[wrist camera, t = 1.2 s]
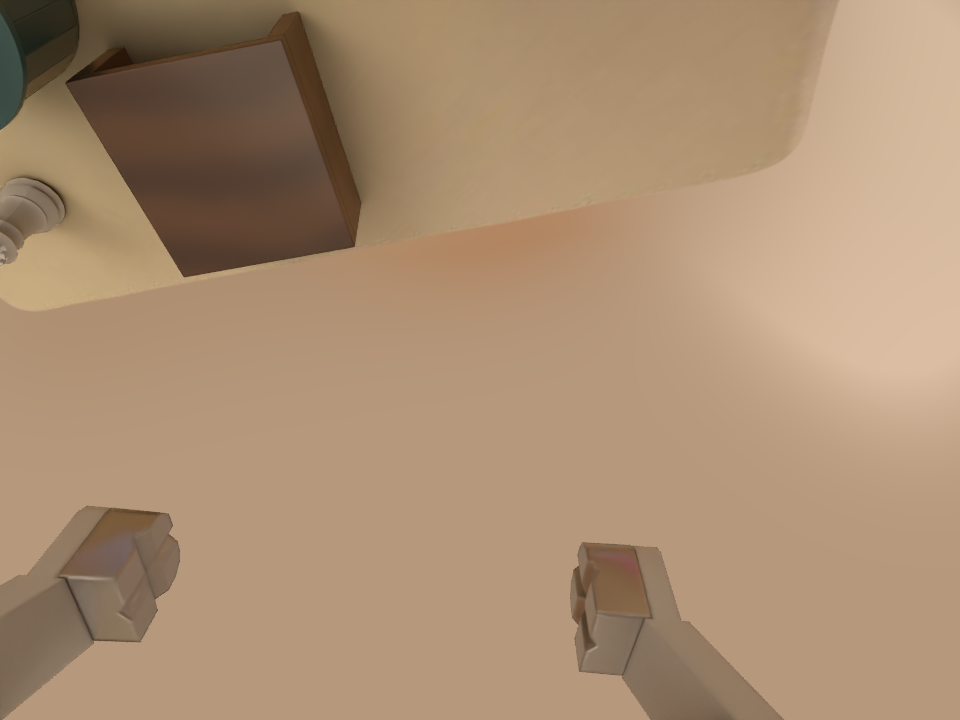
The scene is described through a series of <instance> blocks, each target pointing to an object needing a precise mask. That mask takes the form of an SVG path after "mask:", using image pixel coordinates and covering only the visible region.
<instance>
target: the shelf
mask: <svg viewBox="0 0 960 720" xmlns="http://www.w3.org/2000/svg"><path fill="white" fill-rule="evenodd" d="M65 84H66V85H67V87H68V89H69V90H70V92H71V94H72V95H73V97H74V98H75V100H76V102H77V103H78V105H79V107H80V108H81V110H82V112H83V113H84V115H85V116H86V118H87V120H88V121H89V123H90V125H91V126H92V128H93V129H94V131H95V133H96V134H97V136H98V138H99V139H100V141H101V143H102V144H103V146H104V147H105V149H106V151H107V152H108V154H109V156H110V157H111V159H112V161H113V162H114V164H115V165H116V167H117V169H118V170H119V172H120V174H121V175H122V177H123V179H124V180H125V182H126V183H127V185H128V187H129V188H130V190H131V192H132V193H133V195H134V197H135V198H136V200H137V201H138V203H139V205H140V206H141V208H142V210H143V211H144V213H145V215H146V216H147V218H148V219H149V221H150V223H151V224H152V226H153V228H154V229H155V231H156V232H157V234H158V236H159V237H160V239H161V241H162V242H163V244H164V246H165V247H166V249H167V250H168V252H169V254H170V255H171V257H172V259H173V260H174V262H175V264H176V265H177V267H178V268H179V270H180V272H181V273H182V275H183V277H189V276H195V275H200V274H206V273H211V272H217V271H223V270H228V269H234V268H239V267H245V266H251V265H256V264H262V263H267V262H273V261H279V260H284V259H290V258H295V257H301V256H306V255H312V254H318V253H323V252H329V251H334V250H340V249H346V248H351V247H355V241H356V235H357V228H358V222H359V215H360V208H361V201H360V198H359V195H358V192H357V189H356V186H355V183H354V180H353V177H352V174H351V171H350V168H349V165H348V162H347V159H346V156H345V152H344V149H343V146H342V143H341V140H340V137H339V134H338V131H337V128H336V125H335V122H334V119H333V116H332V113H331V110H330V106H329V103H328V100H327V97H326V94H325V91H324V88H323V85H322V82H321V79H320V76H319V73H318V70H317V67H316V64H315V61H314V57H313V54H312V51H311V48H310V45H309V42H308V39H307V36H306V33H305V30H304V27H303V24H302V21H301V18H300V15H299V12H294V13H289V14H284V15H282V16H281V18H280V19H279V21H278V22H277V24H276V25H275V27H274V28H273V29H272V31H271V32H270V34H269V35H268V37H267V38H263V39H258V40H253V41H248V42H243V43H238V44H233V45H228V46H223V47H218V48H213V49H208V50H203V51H198V52H193V53H188V54H183V55H178V56H173V57H168V58H163V59H158V60H153V61H148V62H143V63H138V64H132V62H131V60H130V58H129V56H128V54H127V52H126V50H125V49H124V47H120V48H115V49H110V50H107V51H106V52H105V53H104V54H102V55H101V56H100V57H98V58H97V59H96V60H94V61H93V62H92V63H90V64H89V65H88V66H86V67H85V68H84V69H82V70H81V71H80V72H78V73H77V74H76V75H74V76H73V77H72V78H71V79H69V80H68V81H67V82H65Z"/></svg>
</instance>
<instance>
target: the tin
mask: <svg viewBox="0 0 960 720" xmlns="http://www.w3.org/2000/svg"><path fill="white" fill-rule="evenodd" d="M0 2H1V4H2V5H3V7H4V8H5V10H6V12H7V14H8V15H9V17H10V19H11V21H12V23H13V25H14V27H15V29H16V31H17V34H18V36H19V38H20V41H21V44H22V47H23V51H24V54H25V59H26V64H27V74H28V84H27V92H26V97H25V99H27V98H28V97H29V96H31V95H32V94H34V93H35V92H36V91H38V90H39V89H40V88H42V87H43V86H45V85H46V84H47V83H49V82H50V81H52V80H53V79H54V78H56V77H57V76H58V75H60V74H61V73H63V72H64V71H65V70H66V68H67V67H68V66H69V65H70V63H71V61H72V59H73V58H74V55H75V52H76V50H77V45H78V39H79V25H78V17H77V12H76V8H75V4H74V1H73V0H0Z"/></svg>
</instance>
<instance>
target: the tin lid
mask: <svg viewBox="0 0 960 720" xmlns="http://www.w3.org/2000/svg"><path fill="white" fill-rule="evenodd" d="M27 84H28V74H27V64H26V59H25V54H24V51H23V47H22V44H21V41H20V38H19V36H18V34H17V31H16V29H15V27H14V25H13V23H12V21H11V19H10V17H9V15H8V14H7V12H6V10H5V8H4V7H3V5H2V4H1V2H0V130H1V129H2V128H4V127H5V126H6V125H8V124H9V123H10V122H11V121H12V120H13V119H14V118H15V117H16V116H17V114H18V113H19V111H20V109H21V107H22V106H23V103H24V100H25V97H26V92H27Z"/></svg>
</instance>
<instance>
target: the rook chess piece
mask: <svg viewBox="0 0 960 720" xmlns="http://www.w3.org/2000/svg"><path fill="white" fill-rule="evenodd" d="M64 216H65V211H64V205H63V203H62V201H61V200H60V198H59V196H58V195H57V194H56V193H55V192H54V191H53V190H52V189H51V188H50V187H48V186H47V185H45V184H43V183H41V182H39V181H35V180H31V179H27V178H17V179H12V180H10V181H9V182H7V183H6V184H5V186H4V188H2V189H1V190H0V266H1V265H3V264H10V263H11V262H13V261H15V260H16V258H17V255H18V253H17V250H19V249H20V248H22V247H23V244H24V240H25V239H26V238H28V237H29V236H31V235H32V234H38V233H43V232H48V231H50V230H51V229H53V228H55V227H56V226H57V224H59V223H61V222H62V220H63V218H64Z"/></svg>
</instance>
